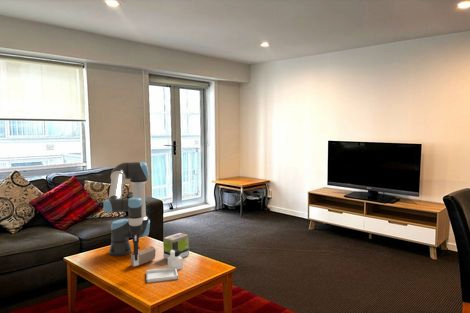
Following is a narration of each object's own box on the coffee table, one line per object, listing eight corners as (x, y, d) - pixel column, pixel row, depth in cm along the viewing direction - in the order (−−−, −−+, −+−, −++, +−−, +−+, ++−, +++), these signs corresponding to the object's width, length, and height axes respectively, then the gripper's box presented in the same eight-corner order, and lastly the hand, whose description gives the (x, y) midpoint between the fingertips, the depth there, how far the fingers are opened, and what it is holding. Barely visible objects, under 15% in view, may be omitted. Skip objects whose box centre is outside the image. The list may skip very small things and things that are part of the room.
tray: (146, 273, 210) (146, 270, 210) (176, 270, 215) (176, 267, 214) (146, 282, 197) (146, 279, 197) (178, 279, 201) (178, 275, 201)
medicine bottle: (177, 265, 223) (177, 247, 223) (183, 268, 218) (182, 250, 217) (167, 268, 219) (167, 249, 218) (173, 271, 213) (172, 252, 213)
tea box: (179, 252, 247) (179, 232, 246) (189, 255, 240) (189, 234, 239) (163, 258, 235) (162, 237, 234) (172, 261, 229) (172, 240, 228)
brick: (133, 257, 217) (130, 253, 220) (132, 268, 220) (129, 263, 223) (156, 249, 228) (152, 245, 231) (155, 259, 231) (152, 255, 234)
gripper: (129, 220, 208) (130, 257, 210) (128, 229, 189) (129, 270, 190) (142, 219, 210) (143, 256, 212) (142, 228, 191) (143, 268, 192)
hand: (136, 262), depth 201 cm, fingers open, 8 cm apart
